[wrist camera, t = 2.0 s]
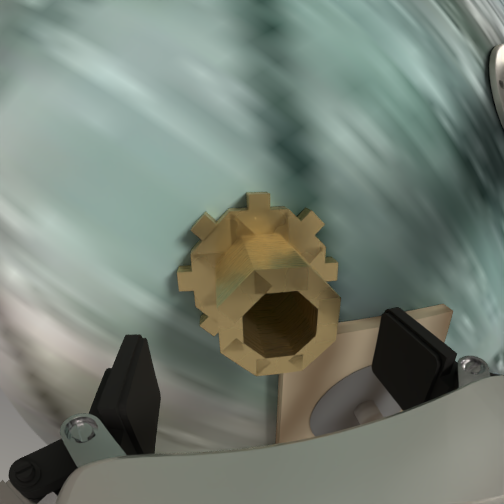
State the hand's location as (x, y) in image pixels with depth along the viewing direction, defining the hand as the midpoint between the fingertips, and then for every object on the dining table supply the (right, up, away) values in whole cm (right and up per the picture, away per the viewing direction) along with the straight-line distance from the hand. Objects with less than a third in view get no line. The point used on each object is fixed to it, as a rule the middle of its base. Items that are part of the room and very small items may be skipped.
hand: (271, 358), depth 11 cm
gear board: (+9, -13, +14) cm, 21 cm away
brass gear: (0, +3, +8) cm, 9 cm away
